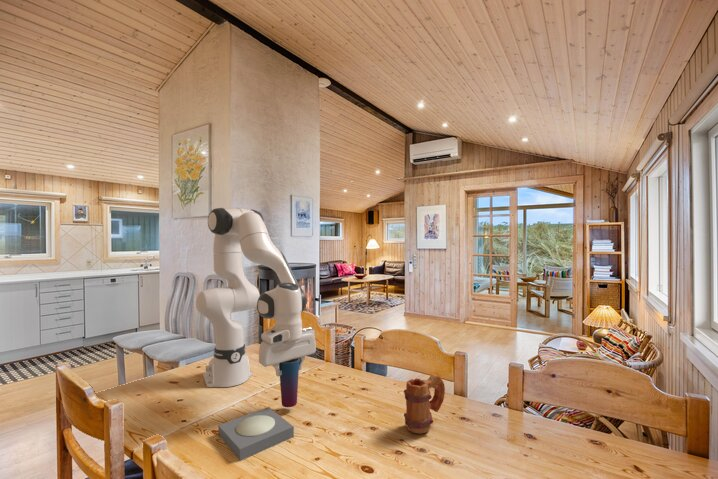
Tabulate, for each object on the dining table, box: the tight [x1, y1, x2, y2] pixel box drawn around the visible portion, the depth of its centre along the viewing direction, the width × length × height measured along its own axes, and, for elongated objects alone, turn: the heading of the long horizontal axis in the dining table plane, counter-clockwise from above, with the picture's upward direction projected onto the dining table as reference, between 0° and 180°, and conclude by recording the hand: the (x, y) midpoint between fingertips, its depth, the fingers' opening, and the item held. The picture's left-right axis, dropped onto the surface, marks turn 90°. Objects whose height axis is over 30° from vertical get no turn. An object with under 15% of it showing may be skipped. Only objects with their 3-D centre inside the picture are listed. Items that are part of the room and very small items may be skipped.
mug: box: [403, 373, 446, 434], centre depth 104 cm, size 15×8×15 cm, turn 117°
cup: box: [278, 358, 300, 408], centre depth 115 cm, size 7×7×15 cm
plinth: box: [217, 407, 295, 461], centre depth 100 cm, size 16×16×3 cm
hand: (289, 372), depth 115 cm, fingers closed on cup, 6 cm apart
